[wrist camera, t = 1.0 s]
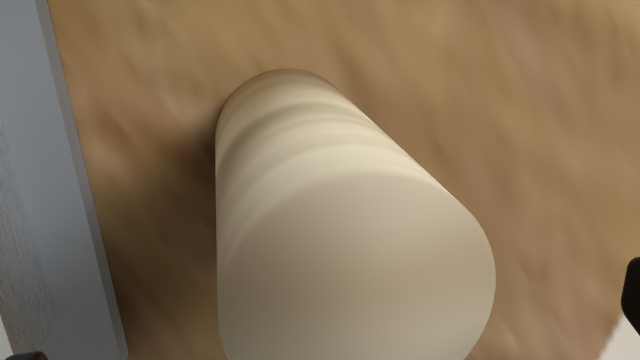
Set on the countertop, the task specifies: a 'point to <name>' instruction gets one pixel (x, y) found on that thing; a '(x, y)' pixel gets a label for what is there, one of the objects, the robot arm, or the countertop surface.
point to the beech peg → (337, 235)
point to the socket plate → (56, 186)
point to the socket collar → (20, 270)
